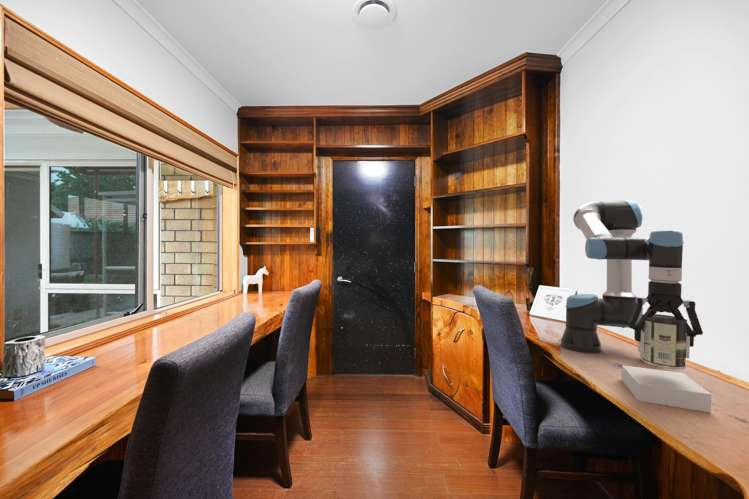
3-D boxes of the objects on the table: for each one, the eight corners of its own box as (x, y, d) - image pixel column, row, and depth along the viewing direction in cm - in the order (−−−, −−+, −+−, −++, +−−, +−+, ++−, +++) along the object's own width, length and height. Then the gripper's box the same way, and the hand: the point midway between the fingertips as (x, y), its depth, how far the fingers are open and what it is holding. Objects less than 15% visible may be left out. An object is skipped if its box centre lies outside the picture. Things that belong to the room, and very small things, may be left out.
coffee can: (670, 358, 103) (671, 314, 103) (695, 371, 93) (696, 322, 93) (633, 356, 105) (634, 312, 105) (653, 368, 95) (655, 320, 95)
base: (621, 379, 110) (621, 365, 110) (682, 388, 104) (682, 373, 104) (638, 401, 95) (638, 384, 95) (710, 412, 89) (711, 394, 89)
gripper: (623, 280, 100) (621, 352, 100) (721, 285, 91) (719, 364, 91) (615, 278, 107) (614, 345, 107) (706, 282, 98) (704, 355, 98)
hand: (662, 354), depth 99 cm, fingers closed on coffee can, 10 cm apart
